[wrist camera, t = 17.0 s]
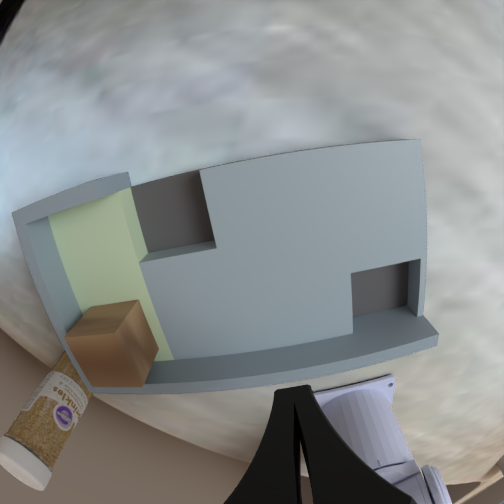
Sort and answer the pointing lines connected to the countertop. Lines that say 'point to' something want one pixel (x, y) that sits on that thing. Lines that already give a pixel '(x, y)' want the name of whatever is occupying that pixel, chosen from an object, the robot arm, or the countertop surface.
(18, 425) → the sprinkles bottle
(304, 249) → the grey pocketed tray
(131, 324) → the block
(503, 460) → the lumpy-topped squat cylinder
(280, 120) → the countertop surface
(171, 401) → the countertop surface
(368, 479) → the robot arm
